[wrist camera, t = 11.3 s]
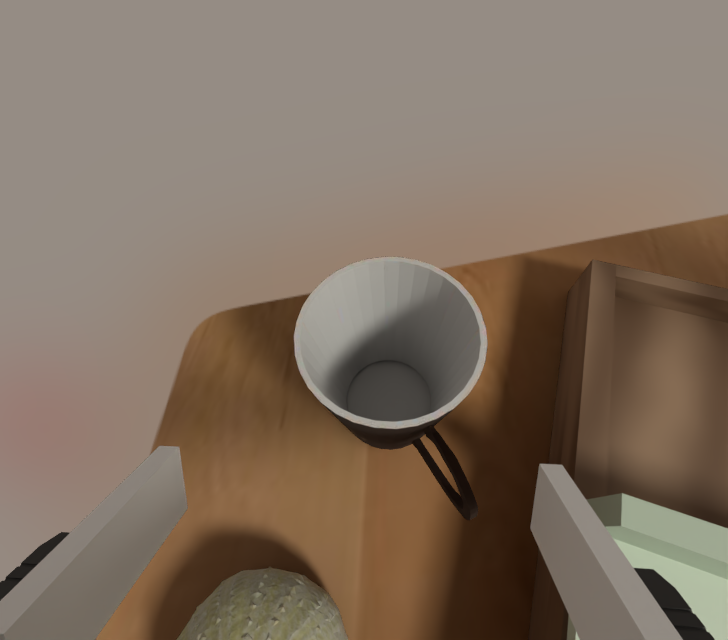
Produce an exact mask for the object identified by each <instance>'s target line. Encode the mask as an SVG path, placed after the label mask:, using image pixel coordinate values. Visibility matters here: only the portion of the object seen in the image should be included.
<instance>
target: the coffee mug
mask: <svg viewBox="0 0 728 640" xmlns="http://www.w3.org/2000/svg"><path fill="white" fill-rule="evenodd" d="M487 345H488V343H487V333H486V326H485V323H484V320H483V317H482V314H481V311H480V309H479V307H478V306H477V304H476V302H475V301H474V299H473V297H472V296H471V295H470V294H469V292H468V291H467V290H466V289H465V288H464V287H463V286H462V284H461V283H459V282H458V281H457V280H456V279H454V278H453V277H452V276H450V275H449V274H448V273H446V272H444V271H442V270H441V269H439V268H437V267H435V266H433V265H430V264H427V263H424V262H422V261H419V260H414V259H409V258H403V257H377V258H370V259H365V260H362V261H359V262H355V263H352V264H350V265H348V266H345V267H343V268H341V269H339V270H337V271H336V272H334V273H333V274H331V275H330V276H329V277H328V278H326V279H324V280H323V281H322V282H321V283H320V284H319V285H318V286H317V287H316V288H315V289H314V290H313V291H312V292H311V294H310V295H309V297H308V298H307V300H306V301H305V303H304V304H303V306H302V309H301V311H300V314H299V316H298V319H297V321H296V327H295V333H294V354H295V358H296V362H297V365H298V369H299V372H300V374H301V376H302V377H303V379H304V381H305V383H306V385H307V387H308V388H309V389H310V390H311V392H312V393H313V394H314V395H315V396H316V398H317V399H318V400H319V401H320V402H321V403H322V404H323V405H324V406H325V407H326V408H327V409H328V410H329V411H330V412H331V413H332V414H333V415H334V416H336V417H337V418H338V419H339V420H340V421H341V422H342V423H343V424H344V425H345V426H346V427H347V428H348V429H349V430H350V431H351V432H352V433H353V434H354V435H355V436H357V437H358V438H359V439H360V440H362V441H363V442H365V443H367V444H369V445H371V446H373V447H377V448H380V449H398V448H403V447H405V446H408V445H411V444H413V445H414V446H415V447H416V448H417V450H418V451H419V453H420V454H421V456H422V457H423V459H424V461H425V462H426V464H427V465H428V467H429V469H430V470H431V472H432V473H433V475H434V476H435V478H436V479H437V481H438V483H439V484H440V486H441V487H442V489H443V490H444V492H445V493H446V495H447V496H448V497H449V499H450V500H451V502H452V503H453V504H454V506H455V507H456V508H457V510H458V511H459V512H460V513H461V515H462V516H463V517H464V518H465V519H467V520H471V519H473V518H475V517H476V516H477V514H478V506H477V503H476V500H475V497H474V495H473V492H472V490H471V487H470V485H469V483H468V481H467V479H466V476H465V474H464V472H463V470H462V468H461V466H460V464H459V462H458V460H457V458H456V457H455V455H454V453H453V452H452V451H451V450H450V448H449V447H448V445H447V444H446V443H445V441H444V440H443V438H442V437H441V436H440V434H439V433H438V432H437V431H436V429H435V428H434V426H435V425H436V424H437V423H438V422H439V421H440V420H442V419H443V418H444V417H445V416H446V415H447V414H448V413H450V412H451V411H452V410H453V409H454V408H455V407H456V406H457V405H458V404H459V403H460V402H461V401H462V400H463V399H464V398H466V397H467V396H468V395H469V393H470V392H471V390H472V389H473V387H474V386H475V384H476V383H477V381H478V380H479V378H480V375H481V372H482V369H483V367H484V364H485V361H486V353H487ZM424 434H426V436H427V437H428V438H429V439H430V440H431V441H432V442H433V443H434V444H435V446H436V447H437V449H438V450H439V452H440V454H441V456H442V458H443V460H444V461H445V463H446V465H447V467H448V468H449V470H450V472H451V474H452V475H453V478H454V480H455V482H456V485H457V487H458V489H459V492H460V495H461V497H462V498H461V497H460V495H459V494H458V493H457V492H456V491H455V490H454V489H453V488H452V486H451V485H450V483H449V482H448V480H447V479H446V478H445V476H444V475H443V473H442V472H441V470H440V469H439V467H438V466H437V464H436V463H435V461H434V460H433V458H432V457H431V455H430V454H429V452H428V451H427V449H426V448H425V446H424V445H423V443H422V441H421V440H420V438H421V437H422V436H423V435H424Z"/></svg>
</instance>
